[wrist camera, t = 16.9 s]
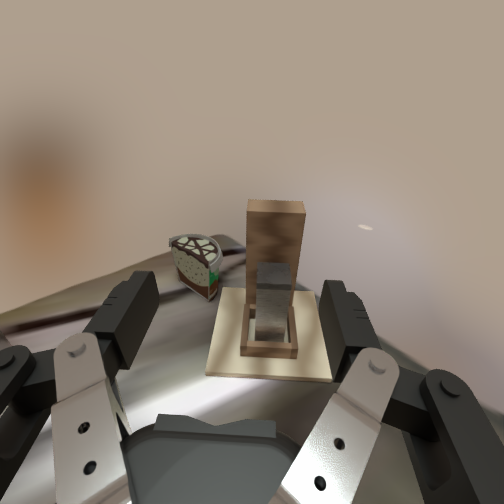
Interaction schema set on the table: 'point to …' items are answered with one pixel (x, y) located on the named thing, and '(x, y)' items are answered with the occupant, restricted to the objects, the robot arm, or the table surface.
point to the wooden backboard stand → (244, 306)
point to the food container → (197, 263)
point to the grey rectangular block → (272, 301)
